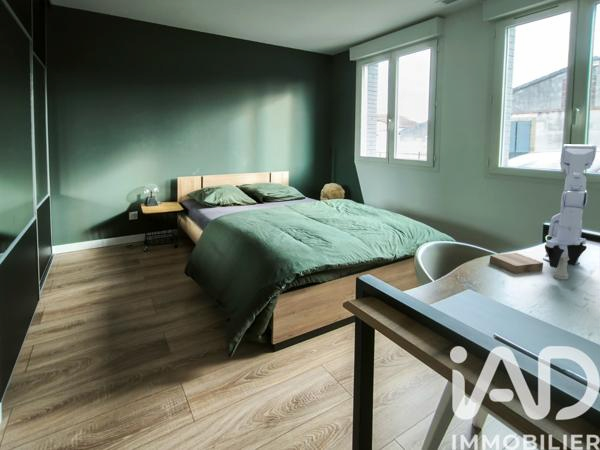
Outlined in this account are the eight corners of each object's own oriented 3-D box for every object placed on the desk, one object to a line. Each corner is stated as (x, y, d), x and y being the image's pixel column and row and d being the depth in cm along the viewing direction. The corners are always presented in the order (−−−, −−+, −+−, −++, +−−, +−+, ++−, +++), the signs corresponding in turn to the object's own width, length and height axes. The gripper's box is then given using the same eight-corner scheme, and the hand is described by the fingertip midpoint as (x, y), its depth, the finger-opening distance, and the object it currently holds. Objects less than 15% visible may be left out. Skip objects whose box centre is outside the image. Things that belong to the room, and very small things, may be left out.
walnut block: (515, 260, 143) (516, 252, 142) (542, 270, 131) (543, 262, 131) (489, 262, 140) (490, 255, 139) (514, 274, 128) (515, 266, 128)
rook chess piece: (570, 280, 122) (574, 258, 120) (555, 279, 123) (559, 257, 121) (564, 275, 127) (568, 253, 125) (549, 275, 127) (553, 253, 126)
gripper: (563, 231, 115) (556, 272, 118) (598, 228, 119) (590, 267, 122) (543, 226, 122) (537, 264, 125) (577, 223, 125) (570, 261, 128)
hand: (562, 265), depth 124 cm, fingers open, 7 cm apart
